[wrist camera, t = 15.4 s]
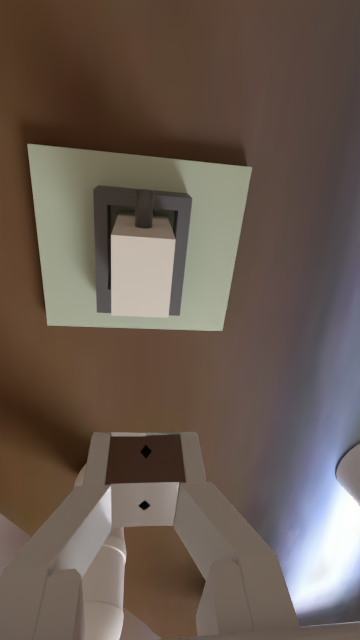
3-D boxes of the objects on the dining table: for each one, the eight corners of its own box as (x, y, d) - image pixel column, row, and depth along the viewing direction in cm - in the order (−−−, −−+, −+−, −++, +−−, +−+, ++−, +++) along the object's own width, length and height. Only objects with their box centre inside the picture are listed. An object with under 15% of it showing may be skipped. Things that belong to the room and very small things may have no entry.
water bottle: (82, 448, 43) (20, 762, 21) (135, 455, 45) (127, 752, 23) (73, 482, 46) (11, 787, 24) (123, 487, 48) (106, 777, 26)
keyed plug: (168, 183, 27) (179, 199, 19) (161, 283, 31) (167, 329, 23) (120, 179, 26) (110, 193, 18) (119, 281, 31) (111, 328, 23)
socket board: (247, 166, 28) (263, 169, 24) (219, 324, 36) (228, 346, 32) (33, 143, 26) (13, 143, 22) (51, 318, 33) (39, 341, 29)
